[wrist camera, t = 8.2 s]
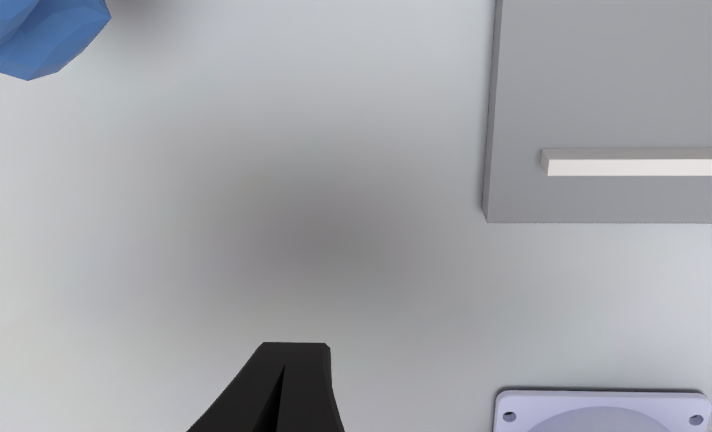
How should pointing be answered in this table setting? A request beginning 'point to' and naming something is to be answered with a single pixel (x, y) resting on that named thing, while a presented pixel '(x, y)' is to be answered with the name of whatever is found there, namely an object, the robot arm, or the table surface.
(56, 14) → the grapes
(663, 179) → the gauge track
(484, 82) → the table surface
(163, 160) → the table surface
